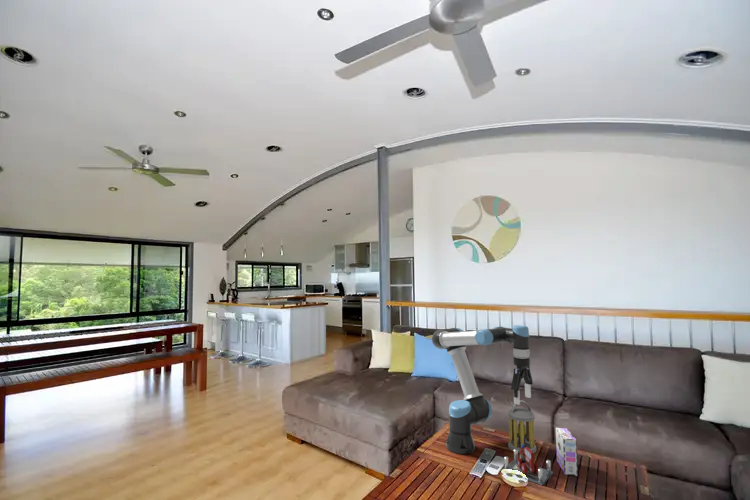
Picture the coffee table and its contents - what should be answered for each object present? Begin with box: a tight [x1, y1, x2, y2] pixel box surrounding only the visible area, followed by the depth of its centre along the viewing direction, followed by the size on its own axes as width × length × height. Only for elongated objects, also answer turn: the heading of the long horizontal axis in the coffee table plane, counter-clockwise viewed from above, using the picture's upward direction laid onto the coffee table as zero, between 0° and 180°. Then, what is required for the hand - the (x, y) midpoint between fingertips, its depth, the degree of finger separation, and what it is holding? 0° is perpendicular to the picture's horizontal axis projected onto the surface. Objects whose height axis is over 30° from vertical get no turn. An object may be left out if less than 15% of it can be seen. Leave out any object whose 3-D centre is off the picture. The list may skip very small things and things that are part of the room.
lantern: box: [507, 399, 537, 454], centre depth 199 cm, size 14×14×25 cm
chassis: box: [502, 449, 554, 486], centre depth 174 cm, size 18×13×6 cm
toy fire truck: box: [517, 444, 540, 473], centre depth 174 cm, size 7×12×10 cm, turn 2°
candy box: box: [554, 427, 578, 477], centre depth 178 cm, size 14×6×16 cm, turn 168°
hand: (522, 400), depth 183 cm, fingers open, 13 cm apart
